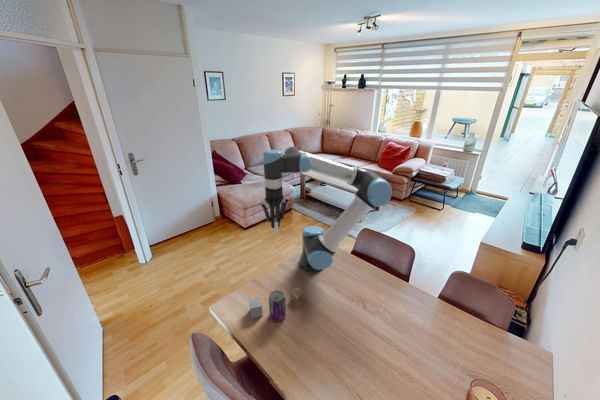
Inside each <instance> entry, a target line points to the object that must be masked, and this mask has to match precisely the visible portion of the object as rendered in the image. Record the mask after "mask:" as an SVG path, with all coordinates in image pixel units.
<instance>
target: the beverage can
mask: <svg viewBox="0 0 600 400" xmlns="http://www.w3.org/2000/svg"><path fill="white" fill-rule="evenodd" d="M286 306H287V305H286V296H285V294H284V292H283V291H282V290H279V289H277V290H273V291H271V292H270V294H269V297H268V308H269V309H268V310H269V318H270V320H272V321H274V322H280V321H281V322H282V321H283V320H284V319H285V318H286V315H287V311H286Z"/></svg>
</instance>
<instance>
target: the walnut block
mask: <svg viewBox="0 0 600 400" xmlns="http://www.w3.org/2000/svg"><path fill="white" fill-rule="evenodd" d="M289 295H290V298H289V299H290V301H291V302H292V303H293V304H294V305H295V306H297V307H298V306H300V305H301V304H303V303H304V302H305V301H306V292H305V291H303V290H302V289H301V288H300V287H297V288H294V289H293V290H292V291H291V292H290V293H289Z"/></svg>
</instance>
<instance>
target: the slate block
mask: <svg viewBox="0 0 600 400" xmlns="http://www.w3.org/2000/svg"><path fill="white" fill-rule="evenodd" d="M248 304H249V310H250V317H251V319H255V318H260V317H264V316H263V315H264V314H263V305H262V304H263V303H262V301H261V297H257V298H253V299H249V300H248Z"/></svg>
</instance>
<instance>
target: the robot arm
mask: <svg viewBox="0 0 600 400" xmlns="http://www.w3.org/2000/svg"><path fill="white" fill-rule="evenodd" d="M262 158H263V172H264V173H263V174H264V186H265V187H264V191H265V197H264V200H263V201H260V203H259V205H260V206H261V207H262V209H263V213H264V216H265V218H266V221H268V223H270V226H271V228H272V232H273V234H274V235H275V236H276V235H279V227H280V226H281V222H282V221H281V220H283V219H284V217H285V214H286V213H285V212H286V208H287V204H288V202H289V199H288V198H287V197H284V195H283V193H284V192H283V190H284V189H283V174H292V173H293V174H296V173H299V174H301V173H308V172H310V171H312V172H314V173H315V172H316V173H318V174H321V175H324V176H328V177H331V178H334V179H337V180H339V181H343V182H346V184H347V185H349V186H352V187H354V188H355V189H356V190H357V191H356V192H355V193H354V199H353V200H352V201H351V203H350V204H348V206H347V207H346V208H345V210H344V211H343V212H342V213H341V214H340V216H339V217H337V219H336V220H335V221H334V223H332V224H331V226H330V227H329V228H328V229H327V230H326V231H325V229H323V228H322V227H320V226H316V225H310V226H307V227H305V228H303V230H302V233H301V234H302V252H301V255H300V257H299V261H298V262H299V267H300V268H301V269H302V270H303V271H305V272H306V271H307V272H309V273H315V272H316V273H317V272H321V271H322V270H325V269H328V268H329V267H331V266H332V264H333V262H334V261H333V260H334V257H333V256H334V255H336V253H337V252H338V248H337V247H338V246H339V245H340V244H341V243H342V242H343V241H344V239H345V238H346V237H348V234H350V233H351V232H352V230H353V229H354V228H355V227H356V226H357V224H359V223H360V222H361V220H362V219H363V218H364V217H365V215H367V213H369V212H370V211H375V210H376V208H377V207H378V208H379V207H383V206H385V205H386V204H387V203H388V202H389V201H390V200H391V198H392V195H393V188H392V186H391V184H390V183H389V182H388V181H387V180H386V179H384V178H383V177H381V176H380V175H379V174H377V173H376V172H374V171H372V170H369V169H365V168H363V167H358V166H355V165H353V166H349V165H346V164H343V163H340V162H337V161H334V160H331V159H329V158H325V157H321V156H319V155H317V154H312V153H310V152H307V151H304V150H302V149H299V148H297V147H296V146H293V145H292V146H288V147H287V148H285V150H284V153H282V151H281V150H279V149H267V150H265V151H264V152H263V157H262ZM267 205H268V206H269V211H268V208H267Z"/></svg>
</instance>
